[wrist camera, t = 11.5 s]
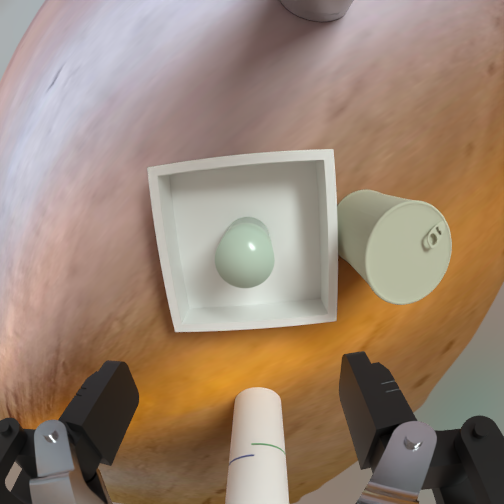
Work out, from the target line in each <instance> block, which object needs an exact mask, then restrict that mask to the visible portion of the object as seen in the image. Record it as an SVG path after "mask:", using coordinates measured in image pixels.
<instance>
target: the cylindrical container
mask: <svg viewBox="0 0 504 504" xmlns="http://www.w3.org/2000/svg"><path fill="white" fill-rule="evenodd" d="M225 504H289V496H288V482H287V469H286V457H285V444H284V432H283V420H282V409H281V399H280V397H279V395H278V394H277V393H276V392H274V391H272V390H270V389H267V388H260V387H256V388H249V389H246V390H244V391H242V392H240V393H239V394H238V395H237V396H236V399H235V405H234V416H233V426H232V437H231V447H230V458H229V469H228V480H227V491H226V502H225Z"/></svg>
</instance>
